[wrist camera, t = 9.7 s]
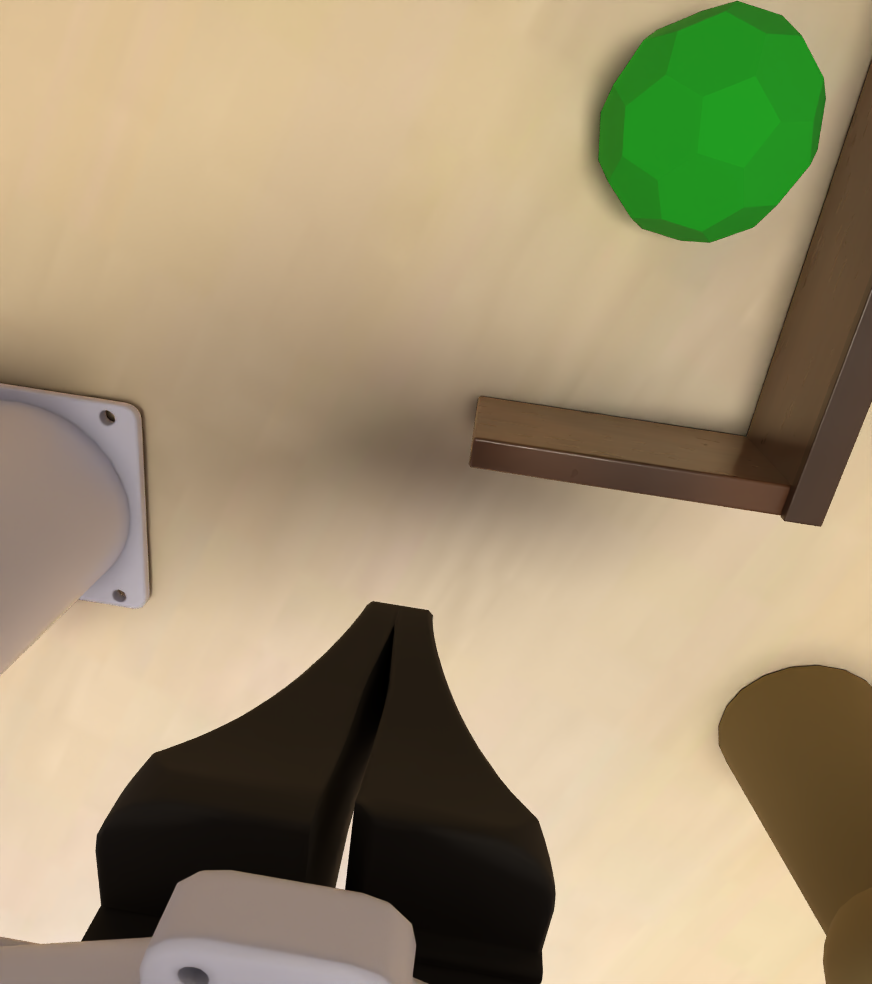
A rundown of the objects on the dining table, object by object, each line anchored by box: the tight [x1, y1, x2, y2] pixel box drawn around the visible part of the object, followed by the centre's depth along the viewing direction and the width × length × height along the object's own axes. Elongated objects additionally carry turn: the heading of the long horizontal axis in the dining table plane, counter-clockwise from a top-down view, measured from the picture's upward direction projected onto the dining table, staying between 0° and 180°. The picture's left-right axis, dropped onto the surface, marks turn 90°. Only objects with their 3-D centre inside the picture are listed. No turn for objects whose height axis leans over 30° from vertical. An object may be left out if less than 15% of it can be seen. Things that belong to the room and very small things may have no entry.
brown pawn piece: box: [719, 666, 872, 984], centre depth 22 cm, size 6×6×11 cm
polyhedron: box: [598, 1, 826, 243], centre depth 17 cm, size 5×5×5 cm
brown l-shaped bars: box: [469, 62, 872, 526], centre depth 17 cm, size 10×18×4 cm, turn 173°
